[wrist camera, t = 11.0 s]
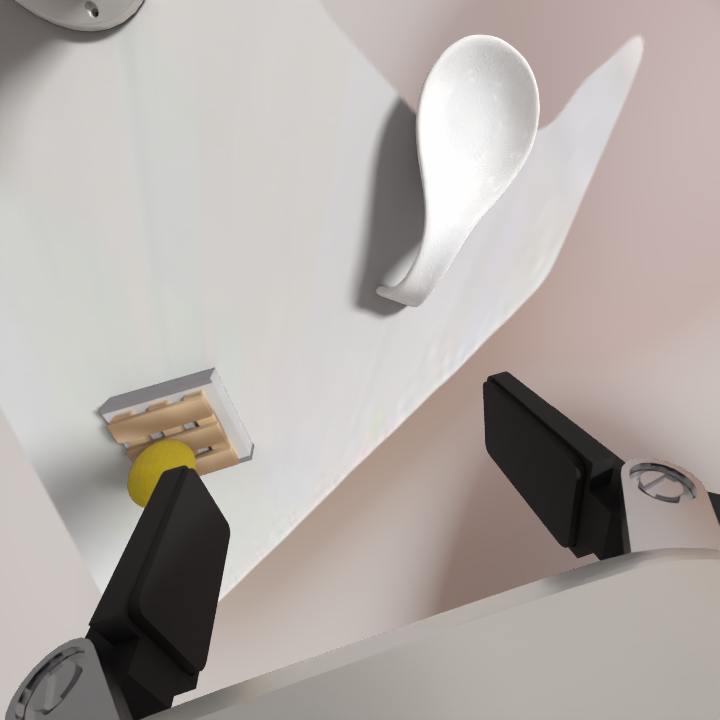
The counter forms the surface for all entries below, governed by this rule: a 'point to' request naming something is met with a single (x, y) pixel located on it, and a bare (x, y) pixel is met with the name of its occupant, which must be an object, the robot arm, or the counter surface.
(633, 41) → the counter surface
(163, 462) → the lemon
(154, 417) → the pallet
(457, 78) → the spoon rest
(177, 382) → the dock
